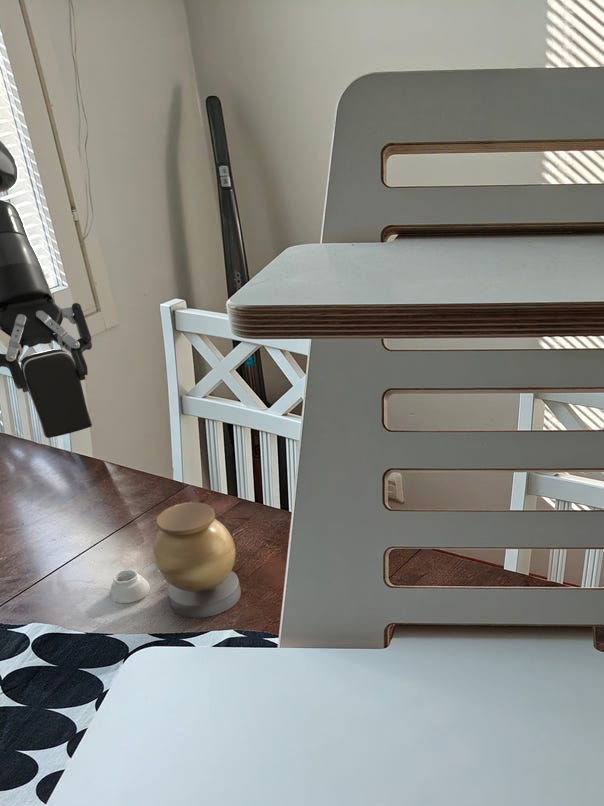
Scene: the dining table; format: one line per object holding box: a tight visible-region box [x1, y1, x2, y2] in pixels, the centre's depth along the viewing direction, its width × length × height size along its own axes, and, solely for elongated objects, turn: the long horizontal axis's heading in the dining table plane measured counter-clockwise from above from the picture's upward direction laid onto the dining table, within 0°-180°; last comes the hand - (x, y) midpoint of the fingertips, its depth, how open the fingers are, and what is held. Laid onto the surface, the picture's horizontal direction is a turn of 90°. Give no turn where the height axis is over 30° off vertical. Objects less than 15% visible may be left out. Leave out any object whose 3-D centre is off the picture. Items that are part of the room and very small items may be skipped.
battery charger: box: [20, 348, 93, 439], centre depth 138 cm, size 7×4×11 cm, turn 124°
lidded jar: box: [152, 501, 242, 619], centre depth 124 cm, size 10×10×12 cm
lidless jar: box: [109, 569, 151, 604], centre depth 128 cm, size 5×3×5 cm
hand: (54, 383), depth 136 cm, fingers closed on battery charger, 7 cm apart
